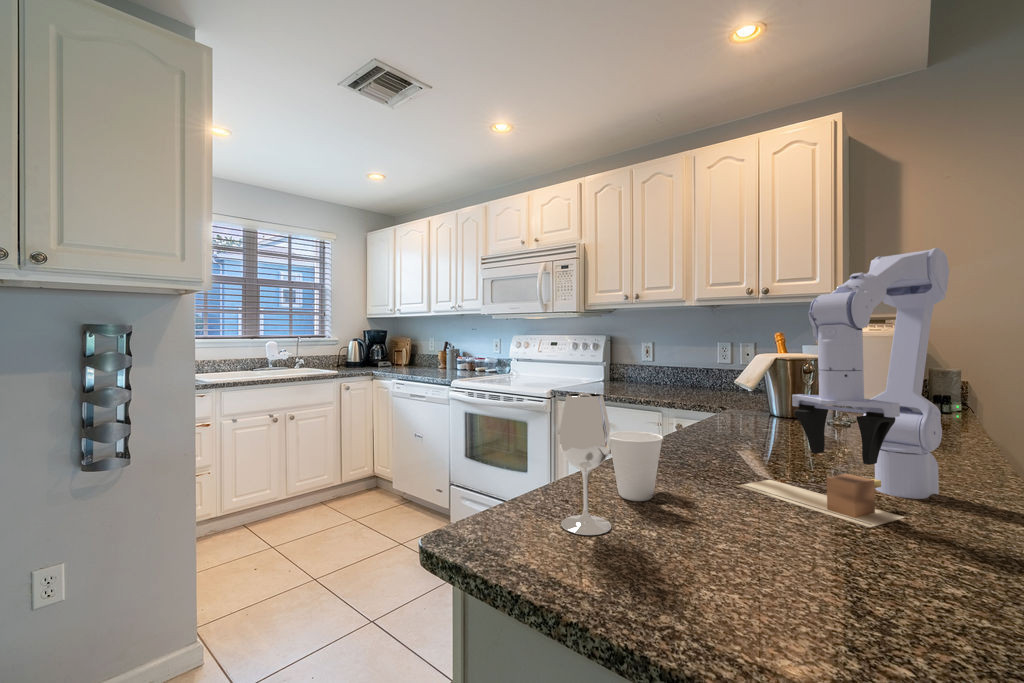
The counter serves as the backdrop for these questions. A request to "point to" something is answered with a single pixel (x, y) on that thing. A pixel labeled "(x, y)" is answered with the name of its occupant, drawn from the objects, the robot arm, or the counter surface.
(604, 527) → the wineglass
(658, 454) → the cup
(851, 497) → the block
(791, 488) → the board
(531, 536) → the counter surface
